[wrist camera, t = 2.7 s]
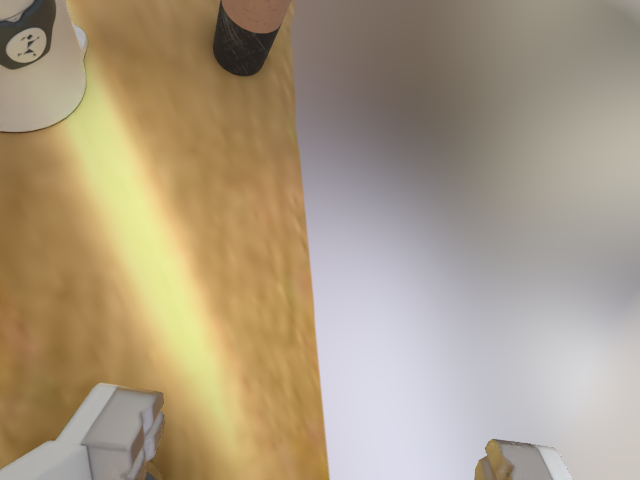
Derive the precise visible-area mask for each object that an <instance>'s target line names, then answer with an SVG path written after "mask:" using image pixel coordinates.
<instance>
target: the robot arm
mask: <svg viewBox="0 0 640 480" xmlns="http://www.w3.org/2000/svg"><path fill="white" fill-rule="evenodd" d="M87 47H88V40H87V37H86V34H85V32H84V31H83V30H82V29H80V28H79V27H77V26H76V25H75V24H73V22H72V19H71V16H70V13H69V10H68V7H67V4H66V1H65V0H0V131H4V132H26V131H33V130H38V129H42V128H45V127H48V126H51V125H53V124H55V123H57V122H59V121H61V120H63V119H64V118H66V117H67V116H68V115H69V114H71V113H72V112H73V111H74V110H75V109H76V107H77V106H78V105H79V103H80V102H81V100H82V98H83V95H84V92H85V88H86V73H85V68H84V62H83V58H84V56H85V53H86V50H87ZM163 403H164V399H163V393H161V392H156V391H150V390H144V389H138V388H132V387H127V386H120V385H114V384H107V383H101V382H100V383H99V384H97V385H96V386H95V387H93V389H92V390H91V391H90V393H89V394H88V396H87V397H86V398H85V400H84V401H83V403H82V404H81V405H80V407H79V408H78V410H77V411H76V412H75V414H74V415H73V417H72V418H71V419H70V421H69V422H68V424H67V425H66V426H65V428H64V429H63V431H62V432H61V433H60V435H59V436H58V438H57V439H56V440H55V441H49V440H48V441H47V442H45V443H43V444H42V445H40V446H38V447H37V448H35V449H33V450H32V451H30V452H28V453H27V454H25V455H23V456H22V457H20V458H18V459H17V460H15V461H13V462H12V463H10V464H8V465H7V466H5V467H3V468H2V469H0V480H144V479H145V477H146V474H147V473H146V462H148V461H149V460H150V459H152V458H153V457H154V456H155V454H156V452H157V450H158V447H159V445H160V442H161V438H162V435H163V430H164V423H165V422H164V415H163V413H162V412H161V411H160V410H161V408H162V406H163ZM485 450H486V453H487V456H486V457H484V458H482V459H480V460H479V462H478V464H477V466H476V469H475V480H573V479H572V477H571V475H570V473H569V471H568V469H567V467H566V465H565V463H564V461H563V460H562V458H561V456H560V454H559V452H558V451H557V450H556V449H555V448H553V447H547V446H540V445H531V444H528V443H520V442H512V441H504V440H497V439H492V440H490V441H489V442H488V444H487V446H486V447H485Z"/></svg>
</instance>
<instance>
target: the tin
mask: <svg viewBox="0 0 640 480" xmlns="http://www.w3.org/2000/svg"><path fill="white" fill-rule="evenodd" d="M146 473H147V474H146V477H145V479H144V480H164V479H163V477H162V475H161V473H160V471H159V470H158V468H157V467H156V466H155V465H154V464H153V463H152V462H151V461H150V460H149V461H148V462H146Z"/></svg>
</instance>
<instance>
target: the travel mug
mask: <svg viewBox="0 0 640 480" xmlns="http://www.w3.org/2000/svg"><path fill="white" fill-rule="evenodd" d="M290 1H291V0H220V7H219V13H218V19H217V25H216V31H215V37H214V45H213V49H214V54H215V57H216V59H217V61H218V62H219V63H220V64H221V66H222V67H224V68H225V69H226V70H228V71H229V72H231V73H234V74H237V75H242V76H248V75H252V74H255V73H256V72H258V71H259V70H260V69H261V67H262V66H263V64H264V62H265V59H266V57H267V55H268V53H269V51H270V48H271V46H272V44H273V42H274V39H275V37H276V35H277V33H278V30H279V28H280V26H281V24H282V21H283V19H284V16H285V14H286V11H287V8H288V6H289V3H290Z"/></svg>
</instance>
